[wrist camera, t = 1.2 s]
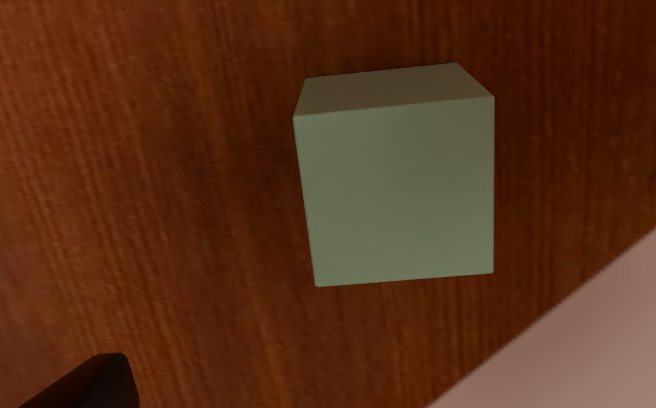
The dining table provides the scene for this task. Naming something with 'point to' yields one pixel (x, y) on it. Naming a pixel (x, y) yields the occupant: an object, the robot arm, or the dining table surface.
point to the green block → (397, 174)
